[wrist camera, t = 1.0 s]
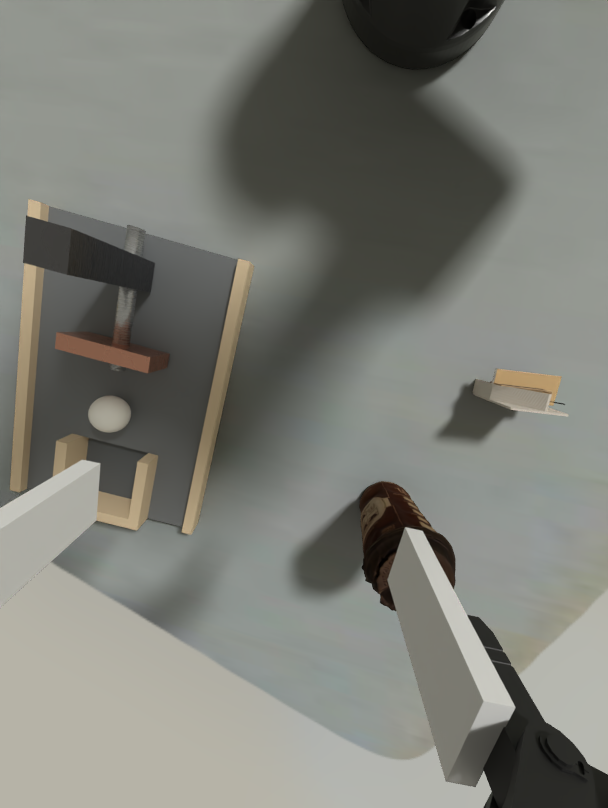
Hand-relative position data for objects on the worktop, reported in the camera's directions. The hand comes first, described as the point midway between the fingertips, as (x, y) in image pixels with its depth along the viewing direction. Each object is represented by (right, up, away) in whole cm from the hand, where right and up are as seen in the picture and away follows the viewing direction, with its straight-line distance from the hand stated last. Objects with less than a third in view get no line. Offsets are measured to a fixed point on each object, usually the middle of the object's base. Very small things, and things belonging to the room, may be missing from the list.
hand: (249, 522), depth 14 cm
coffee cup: (+12, -7, +27) cm, 31 cm away
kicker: (-15, +16, +20) cm, 30 cm away
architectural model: (+25, +7, +24) cm, 35 cm away
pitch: (-18, +8, +24) cm, 31 cm away
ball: (-19, +4, +21) cm, 29 cm away
